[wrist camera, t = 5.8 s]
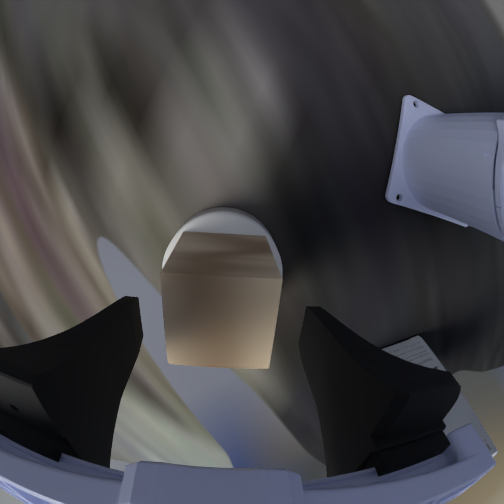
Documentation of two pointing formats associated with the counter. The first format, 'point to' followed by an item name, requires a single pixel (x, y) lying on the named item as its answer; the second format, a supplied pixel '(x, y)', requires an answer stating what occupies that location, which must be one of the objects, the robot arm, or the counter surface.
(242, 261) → the beech block
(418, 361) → the skincare box
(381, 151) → the counter surface
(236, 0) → the counter surface
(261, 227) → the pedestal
